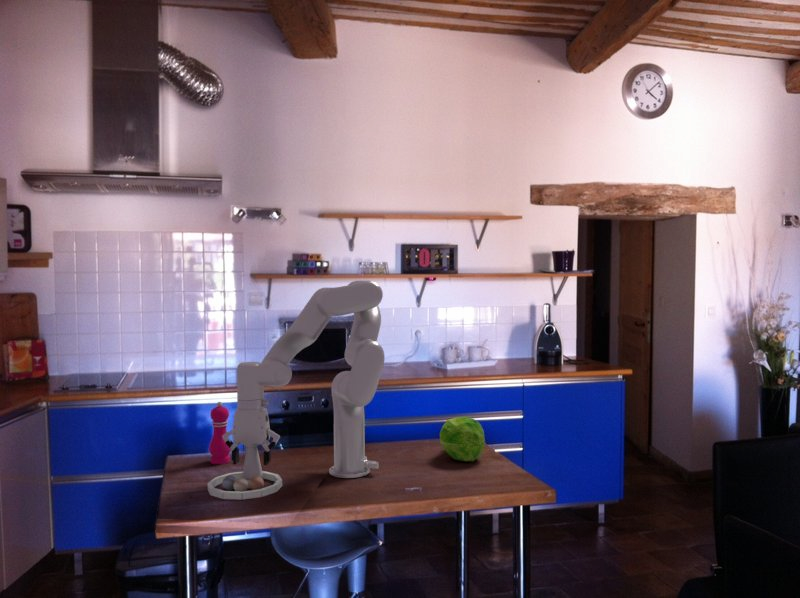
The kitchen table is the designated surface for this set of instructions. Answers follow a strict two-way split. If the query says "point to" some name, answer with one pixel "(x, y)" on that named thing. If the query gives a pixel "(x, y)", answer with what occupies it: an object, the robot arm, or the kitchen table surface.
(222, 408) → the pepper mill
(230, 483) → the dusty blue bead
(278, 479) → the tray
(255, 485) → the bead terracotta
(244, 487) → the bead cream
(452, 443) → the lettuce
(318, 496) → the kitchen table surface
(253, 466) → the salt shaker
